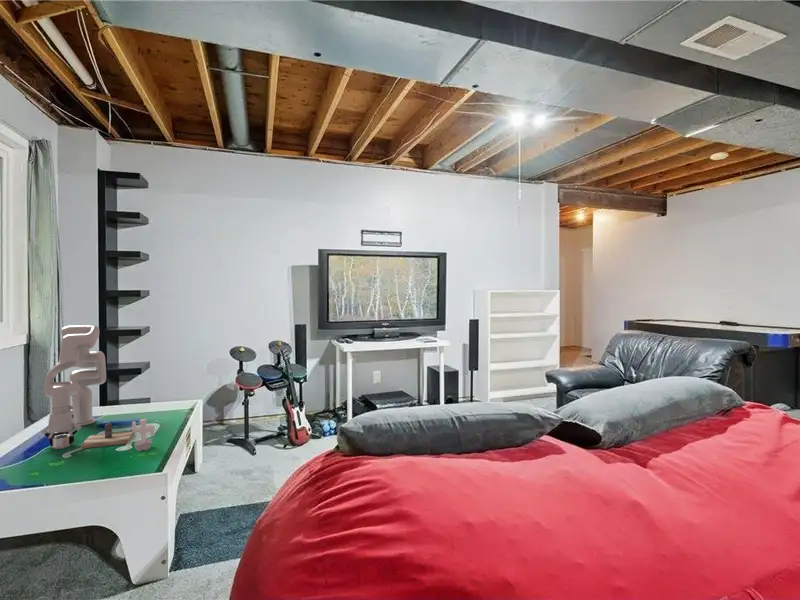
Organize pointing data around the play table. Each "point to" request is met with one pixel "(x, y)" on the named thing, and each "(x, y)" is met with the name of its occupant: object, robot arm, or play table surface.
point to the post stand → (107, 438)
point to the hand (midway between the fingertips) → (61, 444)
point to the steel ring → (60, 441)
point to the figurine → (143, 435)
